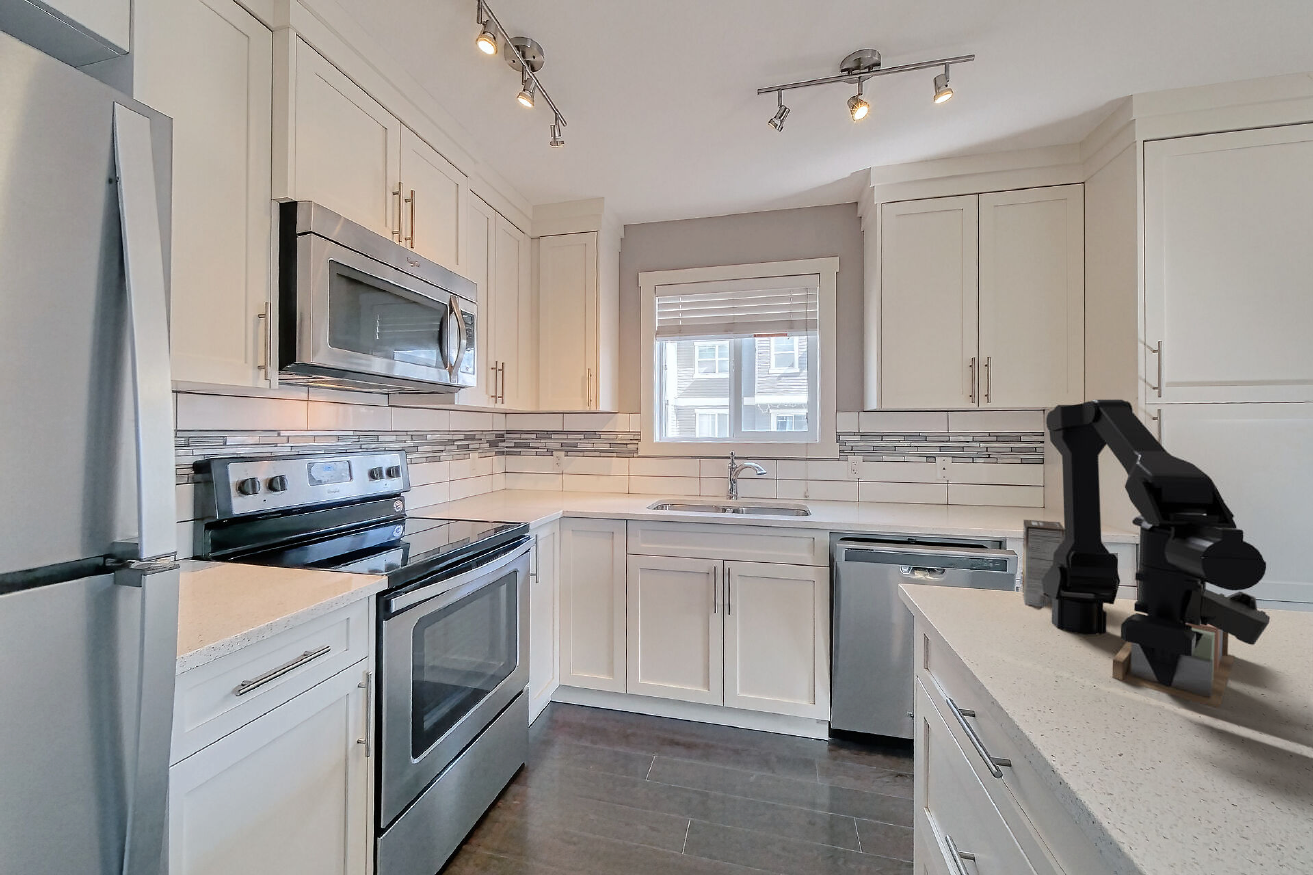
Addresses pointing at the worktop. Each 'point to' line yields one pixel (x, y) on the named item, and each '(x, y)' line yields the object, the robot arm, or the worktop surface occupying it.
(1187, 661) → the bookend
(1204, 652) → the green book
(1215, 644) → the book brick
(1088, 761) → the worktop surface
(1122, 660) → the wooden book rack
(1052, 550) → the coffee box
